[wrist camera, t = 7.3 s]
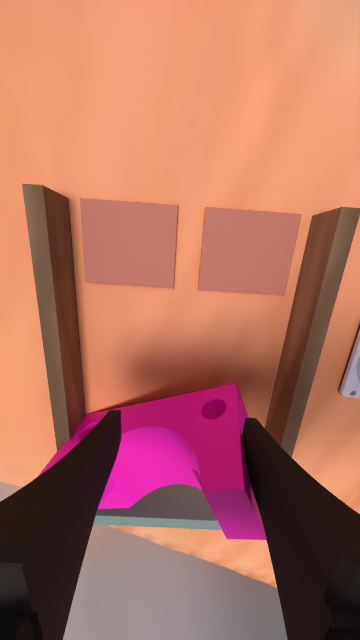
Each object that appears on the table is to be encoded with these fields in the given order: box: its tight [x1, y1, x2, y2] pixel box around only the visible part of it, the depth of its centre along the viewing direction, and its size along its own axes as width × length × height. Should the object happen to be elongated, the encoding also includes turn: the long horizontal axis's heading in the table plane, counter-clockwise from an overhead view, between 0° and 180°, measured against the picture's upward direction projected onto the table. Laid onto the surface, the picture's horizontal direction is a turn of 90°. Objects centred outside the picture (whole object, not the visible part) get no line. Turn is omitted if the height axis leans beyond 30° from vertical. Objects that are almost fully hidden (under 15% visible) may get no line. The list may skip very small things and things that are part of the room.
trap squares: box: [80, 198, 301, 296], centre depth 16 cm, size 16×6×1 cm, turn 86°
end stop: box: [93, 484, 222, 530], centre depth 22 cm, size 20×1×4 cm, turn 86°
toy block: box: [39, 384, 267, 540], centre depth 16 cm, size 15×6×8 cm, turn 112°
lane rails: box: [22, 184, 360, 457], centre depth 18 cm, size 20×26×3 cm
